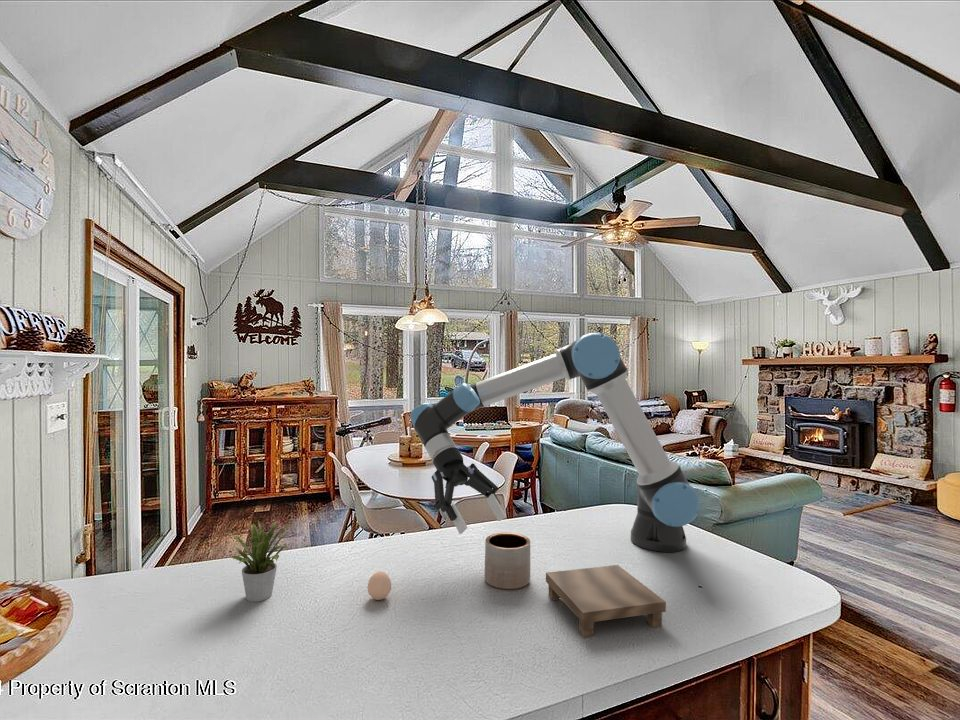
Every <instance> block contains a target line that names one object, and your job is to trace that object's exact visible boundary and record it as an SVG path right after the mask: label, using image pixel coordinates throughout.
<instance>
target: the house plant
mask: <svg viewBox="0 0 960 720" xmlns="http://www.w3.org/2000/svg"><path fill="white" fill-rule="evenodd" d="M278 522H279V519H278V520H276V521H274V522H273V523H272V525H271V527H270V528H269V531H268V533H267V532H265V531H266V530H265V529H264V528H263V526H262V523H261V522H260V521H259V520H257V524H258V527H257V526H256V524H255V523H252V522H251V523H250V536H251V538H250V539H251V540H250V541H251V542H250V543H251V551H250V549H249V548H248V546H247V545H246V543H245V542H244V541H243V540H242V539H241V538H240V537H238V536H236V535H234V534H232V533H231V532H227V533H226V534H228V535H229V536H232V537H233V538H234V539H236V541H237V542H238V543H239V544H241V546H242V547H243V549H244V550H245V551H246V552H247V554H248V555H249V556H248V555H247V554H246V553H245V552H244V551H243V550H242V549H240V548H238V547H235V549H236V551H237V552H238V554H239V555H234V556H231V557H230V558H229V559H233V560H236V561H239V562H238V564H241V563H244V565H245V566H244V567H243V568H242V569H241V575H242V580H243V587H244V593H245V598H246V600H247V601H248V602H255V603H257V602H262V601H265V600H268V599H270V598H271V597H272V595H273V591H274V583H275V579H276V573H277V568H278V565H277V563H275V561H276V562H277V561H278V559H279V558H280V555H279V553H280V552H282V550H284V549H285V548H286V549H287V550H288V549H289V548H288V547H287V546H290V545H293V544H294V543H288V544H286V545H278V544H279V542H280V541H281V540H283V538H285V537H286V536H287V535H291V534H293V532H290V533H289V532H288V533H285V534H284V535H280V534H281V533H282V532H284V531H285V530H287V528H290V527H292V526H295V525H296V523H292V524H288V525H285V526H284V527H282V528H281V529H280V530H278V531H277V533H276V534H275V535H274V532H275V530H276V528H277V527H278V525H277V524H278ZM258 528H259V529H258ZM273 535H274V536H273ZM272 537H273V538H272ZM277 538H278V540H277V541H276V543H275V540H276V539H277ZM271 539H272V540H271ZM273 543H275V544H274V546H273V547H272V545H273ZM277 545H278V546H277ZM271 547H272V549H271V550H270V548H271ZM278 549H279V550H278ZM269 550H270V551H269ZM276 550H278V551H277V552H276V553H275V554H274V555H272V554H273V553H274V552H275V551H276ZM268 552H269V553H268ZM271 555H272V556H271ZM274 560H275V561H274Z"/></svg>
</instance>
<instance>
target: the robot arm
mask: <svg viewBox="0 0 960 720" xmlns="http://www.w3.org/2000/svg"><path fill="white" fill-rule="evenodd" d="M628 372H629V370H628V368H627V367H626V365H625V363H624V361H623V359H622V357H621V352H620V348H619V346H618V344H617V343H616V341H615V340H614V339H613V338H612V337H610V336H609V335H607V334H605V333H603V332H598V331H597V332H588V333H586V334H583V335H582V336H580V337H578V338H577V339H576V340H574V341H573V342H571V343H569V344H568V345H565V346H563V347H560V348H557V349H556V351H555V353H554V354H551V355H549V356H545V357H543V358H542V357H541V358H540V359H537V360H534V361H532V362H528V363H526V364H523V365H520V366H518V367H516V368H513V369H510V370H508V371H504V372H501V373H499V374H497V375H493V376H490V377H488V378H486V379H483V380H480V381H478V382H475V383H472V384H468V383H465V382H463V383H461V384H460V385H459V386H456V387H455V388H453V390H452V391H450V392H449V393H448V394H447V395H445V396H443V398H442V399H440V400H439V401H438V402H436V403H434V404H432V403H430V402H424V403H421V404H420V405H417V406H416V407H414V408H413V409H412V410H411V412H410V415H409V419H410V421H411V424H412V426H413V429H414V431H415V433H416V434H417V436H418V437H419V440H420V441H421V443H422V445H423V447H424V448H425V450H426V452H427V454H428V456H429V458H430V460H431V461H432V464H433V466H434V467H435V470H436V471H435V472H434V473H433V474H432V476H431V480H432V481H433V487H434V488H433V489H434V501H435V503H434V504H435V508H436V510H441V512H443V513H445V512H446V514H447V516H448V518H449V520H450V521H451V522H453V524H454V526H455V528H456V530H457V532H458V534H459V535H461V534H463V533H464V532H465V531H466V530H467V529H468V528H469V527H468V525H467V524H466V522H465V520H464V518H463V516H462V515H461V513H460V510H459V509H458V507H457V506H456V503H453V504H452V502H453V496H454V490H455V488H456V487H458V486H463V485H465V486H469V487H470V488H471V489H473V490H475V491H477V492H478V493H480V494H481V495H483V496H484V497H486V502H487V504H488V506H489V507H490V509H491V511H492V513H493V514H494V516H495V518H496V520H497V521H498V522H501V521H502V520H503V519H504V518H505V517H506V516H507V514H506V512H505V511H504V509H503V508H502V506H501V504H502V503H501V502H500V499H498V497H497V494H496V493H497V491H499V486H497V484H495V483H494V482H493V481H492V480H490V479H489V478H488V477H487V476H486V475H485V474H484V473H483V472H482V471H481V470H479V469H478V467H477V465H476V464H475V463H471V464H470V465H468V466H466V465H465V464H464V457H463V455H462V454H461V452H460V451H459V448H457V445H456V443H455V442H454V440H453V438H452V436H451V435H450V433H449V431H448V429H449V428H451V427H452V426H453V425H454V424H456V423H457V422H459V421H460V420H461V419H462V418H464V417H465V416H467V415H469V413H471V412H473V411H476V410H478V409H482V408H485V407H487V406H490V405H492V404H495V403H498V402H501V401H504V400H506V399H510V398H511V397H514V396H517V395H520V394H521V395H522V394H523V393H526V392H528V391H532V390H535V389H537V388H540V387H542V386H546V385H548V384H551V383H554V382H557V381H561V380H563V379H567V380H569V381H570V380H572V379H576V378H579V377H580V379H581V381H582V383H583V384H584V386H585V388H586V390H587V391H588V392H591V393H593V394H595V395H596V397H597V398H598V401H599V402H600V404H601V406H602V408H603V409H604V412H605V413H606V415H607V417H608V418H609V421H610V423H611V424H612V426H613V428H614V430H615V432H616V434H617V436H618V438H619V440H620V441H621V443H622V446H623V448H624V449H625V451H626V452H627V454H628V456H629V459H630V460H631V462H632V464H633V466H634V468H635V469H636V472H637V473H636V474H637V478H636V484H637V503H636V504H637V509H636V511H637V513H636V517H635V519H634V521H633V525H632V528H631V530H630V541H631V543H633V544H634V545H635V546H638V547H640V548H642V549H645V550H649V551H655V552H661V553H662V552H663V553H675V552H681V551H683V550H685V549H686V548H687V536H686V534H685V529H684V526H687V525H688V524H690V523H692V522H693V521H694V520H695V519H696V518H697V516H698V514H699V511H700V508H701V501H700V497H699V494H698V492H697V491H696V489H694V487H693V486H691V484H690V483H689V481H688V479H687V478H686V476H685V475H684V474H685V473H684V472H683V469H682V468H681V465H679V463H678V462H676V461H672V460H670V459H669V457H668V455H667V453H666V451H665V449H664V447H663V446H662V444H661V442H660V441H659V439H658V437H657V435H656V433H655V431H654V429H653V428H652V425H651V423H650V421H649V420H648V417H647V416H646V415H645V413H644V410H643V409H642V407H641V405H640V404H639V401H638V399H637V398H636V395H635V394H634V392H633V390H632V388H631V386H630V385H629V382H628V381H627V375H628ZM444 481H445V482H446V483H445V487H444ZM444 488H445V489H444ZM444 490H445V491H444Z"/></svg>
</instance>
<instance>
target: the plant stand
mask: <svg viewBox="0 0 960 720" xmlns="http://www.w3.org/2000/svg"><path fill="white" fill-rule="evenodd" d="M545 582H546V583H547V585H548V596H550V597H549V598H550V599H551V600H552V599H556V600H561V601H562V602H563V603H565V605H566V606H567V607H568V608H569V609H570V611H571V612H572V613H573V614H574V615H575V616H576V617H577V618H578V628H579V629H578V632H579V633H580V635H581V636H582V637H583V638H589V637H593V636H594V624H595V623H596V622H602V621H609V620H616V619H625V618H631V617H637V616H645V615H646V623H648V624H649V625H650V626H651V627H652V628H657V627H662V626H663V625H662V624H663V623H662V622H663V621H662V620H663V618H662V617H663V613H666V611H667V609H666V607H667V605H666V604H667V602H666V600H664V599H663V598H662V597H661V596H659V595H657V593H655V592H654V591H652V590H651V588H649V587H647V586H646V585H645V584H643V583H642V582H641V581H640V580H638V579H637V578H636V577H634V576H633V575H632V574H631V573H629V572H628V571H627V570H625V569H624V568H623V567H622V566H620V565H619V564H614V565H605V566H594V567H587V568H577V569H568V570H567V569H566V570H559V571H557V570H556V571H549V572H545ZM559 598H561V599H559Z"/></svg>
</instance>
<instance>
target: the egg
mask: <svg viewBox="0 0 960 720" xmlns="http://www.w3.org/2000/svg"><path fill="white" fill-rule="evenodd" d="M391 580H392V579H391V578H390V576H389V575H388V574H387V573H386V572H385V571H383V570H382V571H381V570H378V571H376V572H374V573H373V574H371V577H370V578H369V579H368V583H367V593H368V595H369V596H370V597H371V598H372V599H373V600H376V601H381V600H385V598H387V597H388V596H389V595H390V593H391V591H392V581H391Z"/></svg>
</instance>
